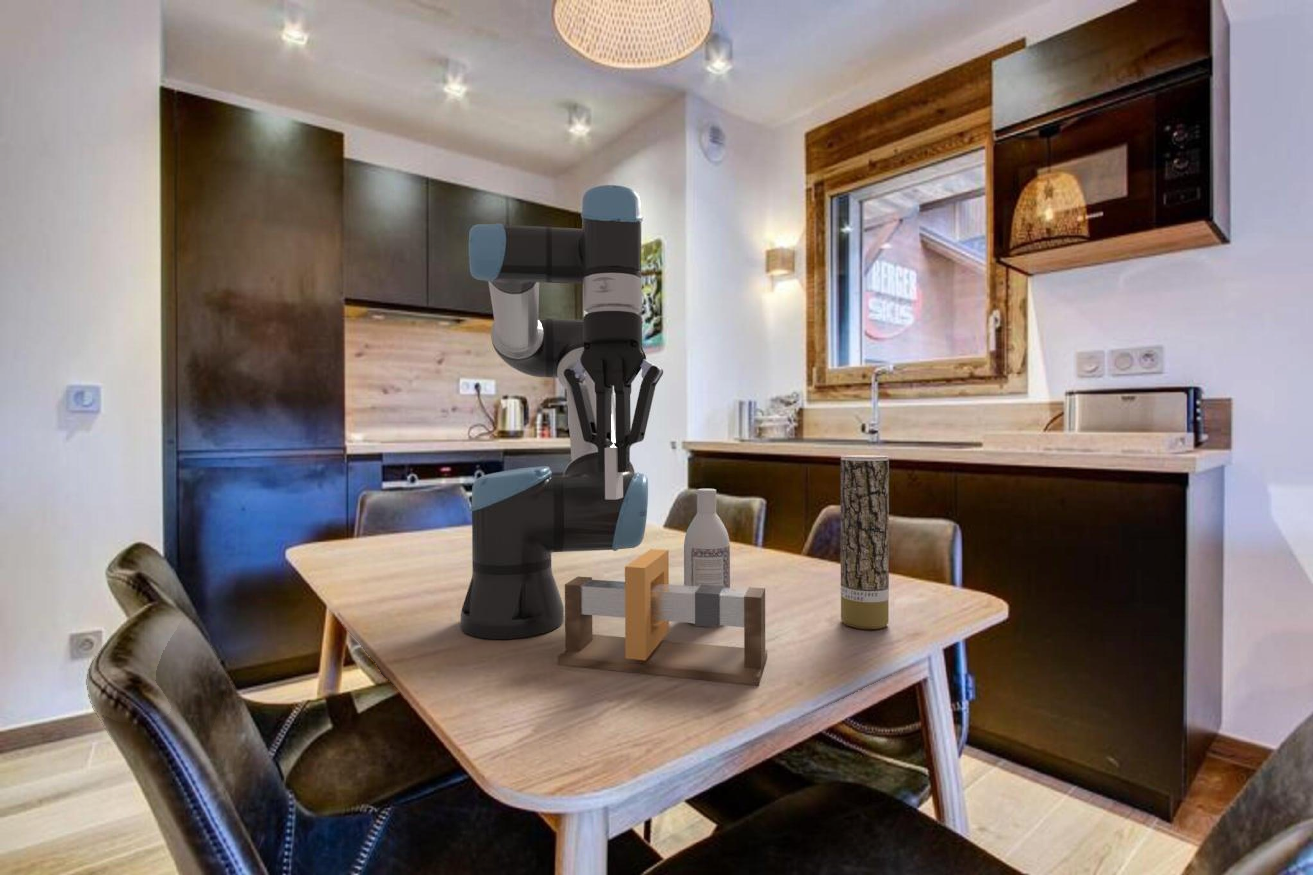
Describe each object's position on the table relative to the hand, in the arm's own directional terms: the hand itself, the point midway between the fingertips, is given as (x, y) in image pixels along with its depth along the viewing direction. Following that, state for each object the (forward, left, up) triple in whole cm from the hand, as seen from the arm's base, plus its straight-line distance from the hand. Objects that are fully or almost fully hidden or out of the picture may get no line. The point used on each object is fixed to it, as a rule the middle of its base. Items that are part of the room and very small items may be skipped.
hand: (614, 498), depth 82 cm
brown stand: (+6, 0, -21) cm, 21 cm away
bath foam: (+8, +18, -21) cm, 29 cm away
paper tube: (+31, +22, -21) cm, 44 cm away
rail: (+6, 0, -15) cm, 16 cm away
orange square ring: (+4, 0, -19) cm, 19 cm away
